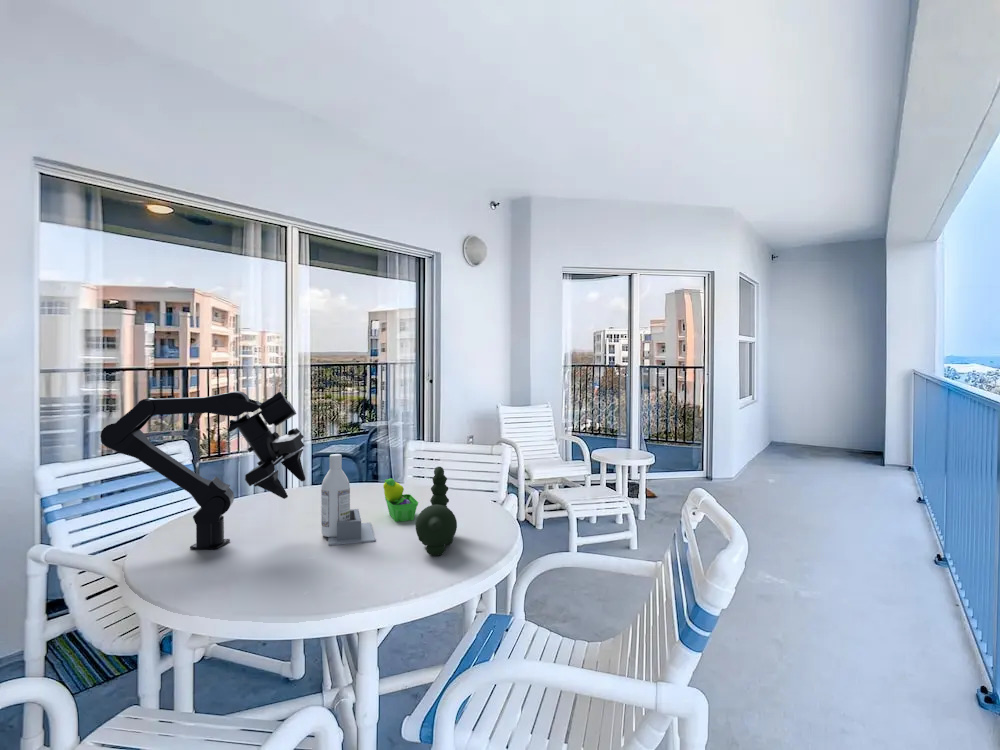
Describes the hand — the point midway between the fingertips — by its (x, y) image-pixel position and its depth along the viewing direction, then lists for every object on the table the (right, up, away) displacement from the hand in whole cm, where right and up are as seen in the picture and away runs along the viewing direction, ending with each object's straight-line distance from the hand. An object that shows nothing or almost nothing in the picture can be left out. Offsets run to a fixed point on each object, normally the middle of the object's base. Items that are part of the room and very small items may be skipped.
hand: (295, 489), depth 142 cm
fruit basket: (+22, -12, +20) cm, 33 cm away
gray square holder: (+13, -12, +4) cm, 18 cm away
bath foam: (+9, -12, +3) cm, 15 cm away
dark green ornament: (+36, -13, -5) cm, 38 cm away
